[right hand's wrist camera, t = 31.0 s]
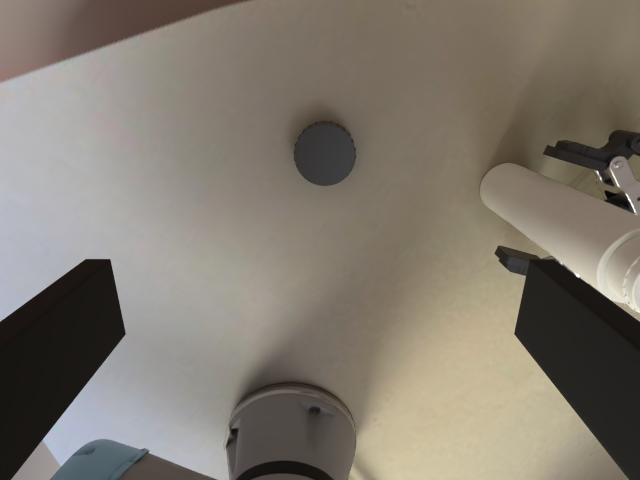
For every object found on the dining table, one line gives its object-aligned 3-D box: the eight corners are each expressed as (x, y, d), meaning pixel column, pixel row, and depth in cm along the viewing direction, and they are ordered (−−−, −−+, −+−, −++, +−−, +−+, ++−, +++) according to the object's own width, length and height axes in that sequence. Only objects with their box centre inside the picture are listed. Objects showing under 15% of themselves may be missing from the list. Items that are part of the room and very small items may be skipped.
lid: (360, 127, 35) (362, 130, 33) (347, 185, 37) (348, 191, 35) (300, 115, 35) (299, 117, 33) (290, 174, 37) (288, 180, 34)
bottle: (518, 214, 38) (692, 331, 20) (472, 206, 38) (608, 317, 20) (536, 167, 36) (744, 250, 18) (488, 158, 36) (652, 233, 18)
